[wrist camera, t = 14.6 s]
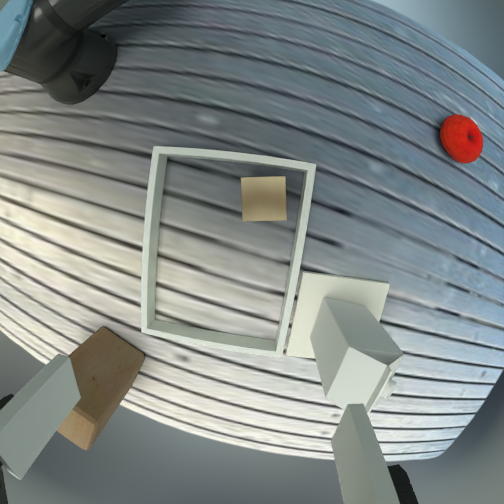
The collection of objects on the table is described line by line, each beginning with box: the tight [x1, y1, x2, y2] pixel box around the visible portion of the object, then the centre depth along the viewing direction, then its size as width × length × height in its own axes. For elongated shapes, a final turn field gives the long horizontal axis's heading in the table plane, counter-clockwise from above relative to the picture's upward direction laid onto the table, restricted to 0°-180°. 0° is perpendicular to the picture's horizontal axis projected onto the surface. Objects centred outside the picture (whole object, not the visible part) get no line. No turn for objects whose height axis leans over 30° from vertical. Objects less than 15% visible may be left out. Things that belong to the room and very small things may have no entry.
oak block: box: [241, 176, 287, 221], centre depth 36 cm, size 5×5×8 cm
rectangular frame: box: [141, 146, 316, 358], centre depth 40 cm, size 28×22×4 cm
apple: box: [440, 115, 483, 163], centre depth 32 cm, size 8×8×7 cm
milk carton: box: [310, 297, 404, 415], centre depth 32 cm, size 7×7×19 cm
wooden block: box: [57, 327, 144, 450], centre depth 37 cm, size 10×10×20 cm
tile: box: [286, 271, 390, 358], centre depth 42 cm, size 14×14×1 cm
